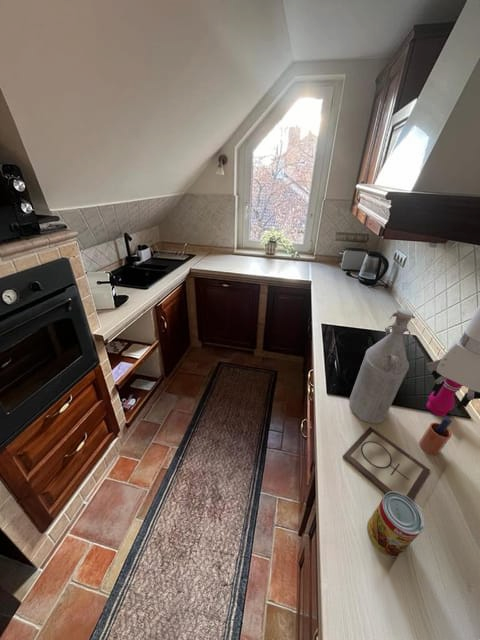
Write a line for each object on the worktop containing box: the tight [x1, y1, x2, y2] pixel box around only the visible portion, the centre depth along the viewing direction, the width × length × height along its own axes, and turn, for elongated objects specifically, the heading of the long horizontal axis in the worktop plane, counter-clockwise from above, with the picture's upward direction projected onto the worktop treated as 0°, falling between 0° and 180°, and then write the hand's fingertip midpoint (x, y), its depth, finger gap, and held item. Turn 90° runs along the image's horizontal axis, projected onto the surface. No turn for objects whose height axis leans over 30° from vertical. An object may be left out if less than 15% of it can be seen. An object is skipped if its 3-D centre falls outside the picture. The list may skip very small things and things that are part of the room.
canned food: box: [366, 491, 425, 557], centre depth 57 cm, size 8×8×12 cm
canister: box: [348, 307, 416, 424], centre depth 82 cm, size 13×17×40 cm
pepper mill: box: [425, 378, 464, 417], centre depth 87 cm, size 7×7×20 cm
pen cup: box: [418, 422, 452, 456], centre depth 77 cm, size 5×5×9 cm
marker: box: [435, 416, 452, 436], centre depth 76 cm, size 2×2×13 cm
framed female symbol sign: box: [342, 426, 431, 502], centre depth 74 cm, size 18×16×1 cm
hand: (447, 399), depth 67 cm, fingers open, 4 cm apart
